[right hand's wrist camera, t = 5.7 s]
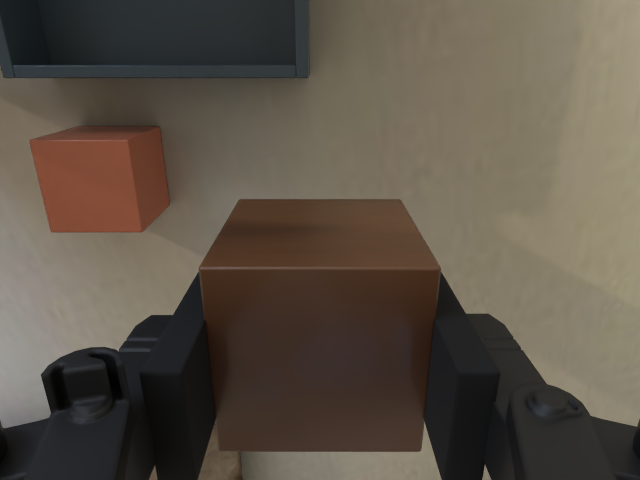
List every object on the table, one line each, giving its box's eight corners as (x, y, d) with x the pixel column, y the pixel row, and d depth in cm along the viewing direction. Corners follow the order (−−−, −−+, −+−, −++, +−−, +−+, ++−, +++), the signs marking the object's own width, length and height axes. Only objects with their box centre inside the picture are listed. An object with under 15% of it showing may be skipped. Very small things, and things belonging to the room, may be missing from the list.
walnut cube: (391, 337, 16) (421, 452, 11) (247, 337, 16) (217, 452, 11) (401, 198, 14) (442, 267, 9) (238, 198, 14) (197, 267, 9)
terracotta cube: (170, 204, 29) (142, 232, 25) (93, 205, 29) (50, 232, 25) (160, 126, 27) (128, 139, 23) (77, 126, 27) (28, 140, 23)
